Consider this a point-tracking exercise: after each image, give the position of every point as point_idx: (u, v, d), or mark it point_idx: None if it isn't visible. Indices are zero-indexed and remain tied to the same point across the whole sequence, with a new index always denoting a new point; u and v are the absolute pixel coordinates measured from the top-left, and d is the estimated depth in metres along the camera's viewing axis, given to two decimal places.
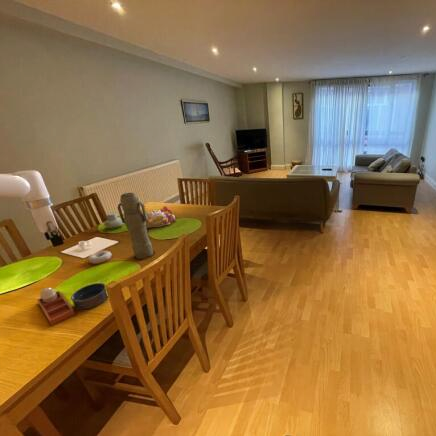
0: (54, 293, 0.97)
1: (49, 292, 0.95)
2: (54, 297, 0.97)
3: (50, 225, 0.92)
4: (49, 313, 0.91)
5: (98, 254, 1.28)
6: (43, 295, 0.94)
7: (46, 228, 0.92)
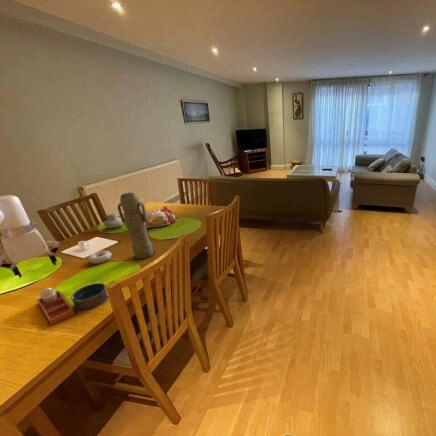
0: (54, 293, 0.97)
1: (49, 292, 0.95)
2: (54, 297, 0.97)
3: (0, 256, 0.84)
4: (49, 313, 0.91)
5: (98, 254, 1.28)
6: (43, 295, 0.94)
7: None
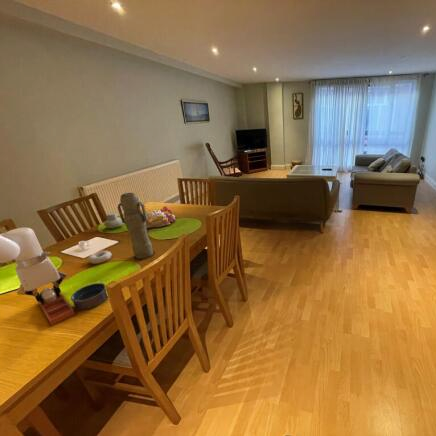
0: (54, 293, 0.97)
1: (49, 292, 0.95)
2: (54, 297, 0.97)
3: (19, 287, 0.89)
4: (49, 313, 0.91)
5: (98, 254, 1.28)
6: (43, 295, 0.94)
7: None
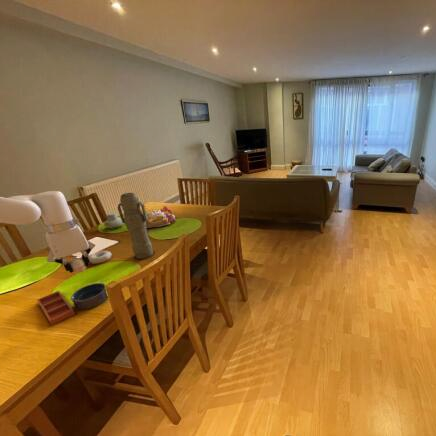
0: (83, 263, 0.93)
1: (78, 261, 0.91)
2: (83, 267, 0.92)
3: (49, 254, 0.85)
4: (49, 313, 0.91)
5: (98, 254, 1.28)
6: (72, 264, 0.90)
7: None
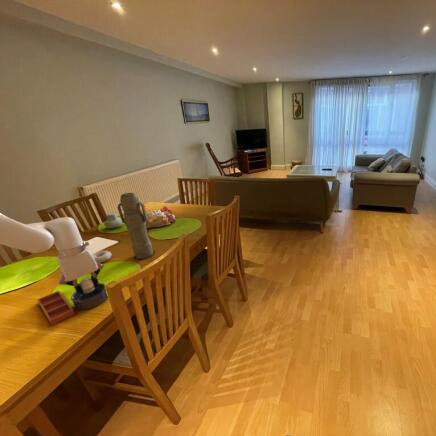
0: (92, 284, 0.96)
1: (88, 282, 0.95)
2: (92, 287, 0.96)
3: (60, 277, 0.89)
4: (49, 313, 0.91)
5: (98, 254, 1.28)
6: (82, 285, 0.94)
7: None
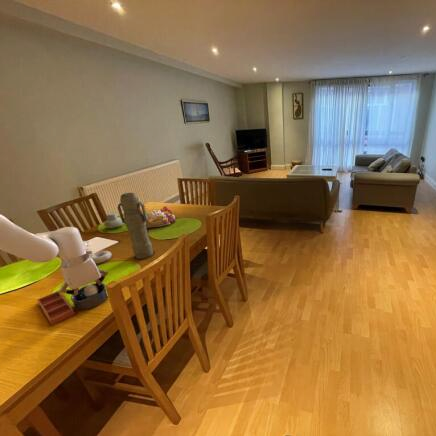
0: (97, 291, 0.98)
1: (93, 289, 0.97)
2: None
3: (62, 285, 0.90)
4: (49, 313, 0.91)
5: (98, 254, 1.28)
6: (87, 292, 0.96)
7: None
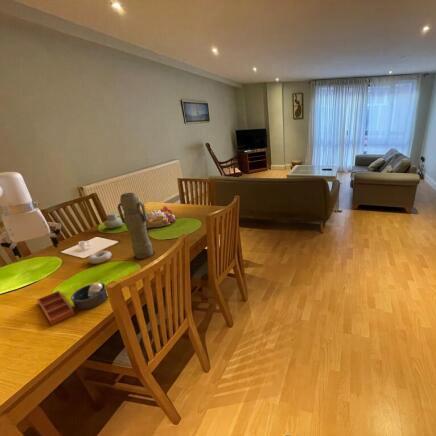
0: (101, 290, 1.00)
1: (99, 287, 0.99)
2: None
3: (0, 235, 0.81)
4: (49, 313, 0.91)
5: (98, 254, 1.28)
6: (93, 287, 0.98)
7: (8, 235, 0.83)
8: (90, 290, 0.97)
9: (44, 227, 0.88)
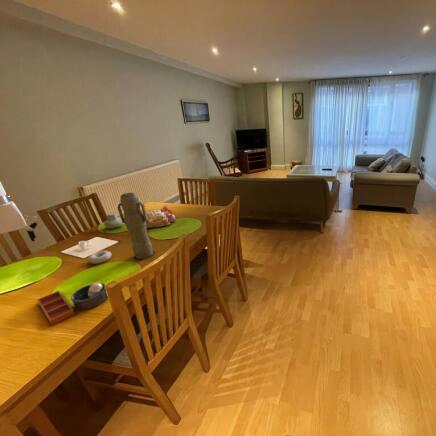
0: (101, 290, 1.00)
1: (99, 287, 0.99)
2: None
3: None
4: (49, 313, 0.91)
5: (98, 254, 1.28)
6: (93, 287, 0.98)
7: None
8: (90, 290, 0.97)
9: (20, 220, 0.87)
